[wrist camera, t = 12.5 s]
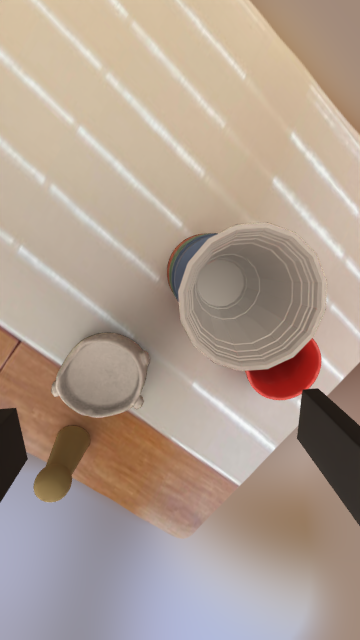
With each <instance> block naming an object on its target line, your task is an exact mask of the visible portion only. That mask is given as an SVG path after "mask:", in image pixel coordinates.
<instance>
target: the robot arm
mask: <svg viewBox="0 0 360 640" xmlns="http://www.w3.org/2000/svg"><path fill="white" fill-rule="evenodd" d="M297 439H298V440H299V442H300V443H301V444H302V446H303V447H304V448H305V450H306V451H307V453H308V454H309V456H310V457H311V458H312V460H313V461H314V463H315V464H316V465H317V467H318V468H319V470H320V471H321V472H322V474H323V475H324V477H325V478H326V479H327V481H328V482H329V484H330V485H331V486H332V488H333V489H334V491H335V492H336V493H337V495H338V496H339V498H340V499H341V500H342V502H343V503H344V505H345V506H346V507H347V509H348V510H349V512H350V513H351V514H352V516H353V517H354V519H355V520H356V521H357V523H358V524H359V526H360V426H359V425H358V424H357V423H356V422H355V421H354V420H353V419H351V418H350V417H349V416H348V415H347V414H346V413H345V412H344V411H343V410H341V409H340V408H339V407H338V406H337V405H336V404H335V403H334V402H333V401H331V400H330V399H329V398H328V397H327V396H326V395H325V394H324V393H323V392H321V391H320V390H319V389H303V390H302V399H301V408H300V417H299V426H298V435H297ZM27 459H28V458H27V455H26V449H25V445H24V441H23V436H22V432H21V428H20V423H19V419H18V414H17V410H16V408H10V409H0V502H1V500H2V499H3V497H4V496H5V494H6V493H7V491H8V489H9V488H10V486H11V485H12V483H13V481H14V480H15V478H16V476H17V475H18V474H19V472H20V470H21V468H22V467H23V466H24V464H25V462H26V461H27Z"/></svg>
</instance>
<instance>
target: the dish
mask: <svg viewBox="0 0 360 640" xmlns="http://www.w3.org/2000/svg"><path fill="white" fill-rule="evenodd" d="M149 363H150V358H149V355H148V353H147V351H142V349H141V348H140V347H139V346H138V344H137V343H135V342H134V341H133V340H131V339H130V338H128V337H125V336H123V335H120V334H116V333H100V334H96V335H93V336H90V337H87V338H85V339H84V340H82V341H81V342H80V343H78V344H77V345H76V346H75V347H74V348H73V350H72V351H71V352H70V353H69V355H68V356H67V358H66V359H65V361H64V362H63V364H62V366H61V368H60V370H59V372H58V374H57V377H56V381H54V382H53V384H52V389H51V392H52V394H53V395H54V396H55V397H57V396H60V397H61V399H62V400H63V401H64V402H65V404H66V405H67V406H69V407H70V408H71V409H73V410H74V411H76V412H77V413H79V414H81V415H88V416H91V417H107V416H112V415H116V414H119V413H122V412H125V411H127V410H128V409H130V408H131V407H132V406H133V407H134V409H139V408H141V406H142V404H143V402H144V400H143V397H142V396H141V395H140V393H141V391H142V388H143V386H144V383H145V380H146V374H147V365H148V364H149Z"/></svg>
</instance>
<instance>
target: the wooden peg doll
mask: <svg viewBox="0 0 360 640" xmlns="http://www.w3.org/2000/svg"><path fill="white" fill-rule="evenodd" d="M89 444H90V436H89V434H88V432H87V431H86V430H85V429H83V428H81V427H79V426H74V425H73V426H67V427H64V428H63V429H61V430H60V431H59V433H58V434H57V437H56V440H55V442H54V445H53V448H52V451H51V453H50V456H49V459H48V462H47V465H46V467H45V468H43V469H42V470H41V471H40V472H39V474H38V475H37V477H36V479H35V482H34V492H35V495H36V496H37V497H38V498H39V499H40V500H42V501H45V502H56V501H58V500H60V499H62V498H63V497H64V496H65V495H66V494H67V492H68V491H69V489H70V487H71V482H72V474H73V472H74V470H75V469H76V467H77V465H78V463H79V462H80V460H81V458H82V457H83V455H84V453H85V451H86V450H87V448H88V446H89Z"/></svg>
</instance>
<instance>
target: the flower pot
mask: <svg viewBox="0 0 360 640" xmlns="http://www.w3.org/2000/svg"><path fill="white" fill-rule="evenodd" d="M320 368H321V353H320V350H319V347H318V345H317V343H316V342H315V341H314V339H313V338H312V339H311V340H310V341H309V342H308V343H307V344H306V345H305V346H304V347H303V348H302V349H301V350H300V351H299V352H298V353H297V354H296V355H295V356H294V357H293V358H291V359H288V360H286V361H284V362H282V363H280V364H278V365H275V366H273V367H271V368H269V369H262V370H249V371H245V372H246V375H247V378H248V380H249V382H250V384H251V386H252V387H253V388H254V389H255V390H256V391H257V392H258V393H259V394H261V395H262V396H264V397H266V398H269V399H273V400H286V399H291V398H294V397H296V396H298V395H300V394H302V390H303V389H308V388H309V387H310V386H311V385H312V384H313V383H314V382H315V380H316V378H317V377H318V374H319V372H320Z"/></svg>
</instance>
